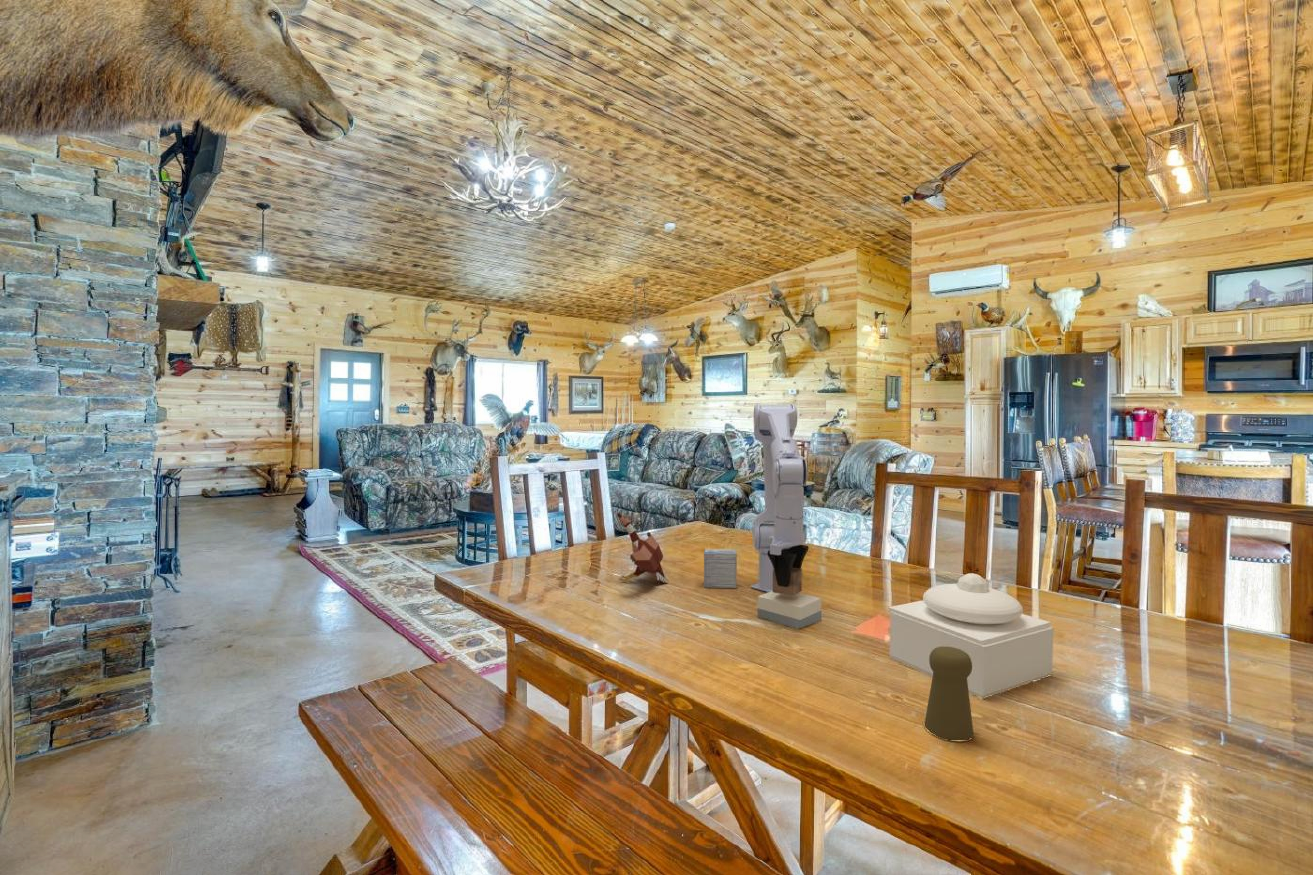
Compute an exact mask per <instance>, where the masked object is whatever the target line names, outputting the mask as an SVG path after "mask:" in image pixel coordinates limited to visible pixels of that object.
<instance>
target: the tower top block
mask: <svg viewBox="0 0 1313 875" xmlns="http://www.w3.org/2000/svg"><path fill="white" fill-rule="evenodd" d="M758 609H762V610H766V611H769V612H773V613H777V614H780V615H784V616H787V617H791V618H795V619H798V620H802V619H804V618H806V617H808V616H810V615H812V614H814V613H817V612H819V611H821V612H822V597H817V596H814V595H810V594H805V593H800V592H799V593H797V594H796V595H794V596H792V595H786V594H780V593H774V592H773V591H771V592H765V593H764V594H760V595H758V596H757V610H758Z"/></svg>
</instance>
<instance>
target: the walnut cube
mask: <svg viewBox="0 0 1313 875" xmlns="http://www.w3.org/2000/svg"><path fill="white" fill-rule="evenodd" d="M802 581H803V569H802V568H801V569H800V568H793V567H792V570H791V577H790V583H789V586H788V587H783V586H778V584H777V580H776V576H775V571H774V570H773V592H774V593H780V594H786V595H792V596H794V595H796V594H797V593H800V592H802V590H803V589H802V586H803V584H802Z"/></svg>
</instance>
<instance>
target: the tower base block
mask: <svg viewBox="0 0 1313 875" xmlns="http://www.w3.org/2000/svg"><path fill="white" fill-rule="evenodd" d="M757 617H758V618H761V619H764V620H767V621H770V622H773V623H776V624H781V625H783V626H786V627H789V628H792V629H795V630H799V629H802V628H804V627H807V626H810V625H811V624H815V623H818V622H819V621H822V610H821V611H819V612H817V613H814V614H812V615H810V616H808V617H806V618H804V619H802V620H798V619H795V618H791V617H787V616H784V615H780V614H777V613H773V612H769V611H766V610H762V609H758V608H757Z"/></svg>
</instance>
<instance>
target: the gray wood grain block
mask: <svg viewBox="0 0 1313 875" xmlns="http://www.w3.org/2000/svg"><path fill="white" fill-rule="evenodd" d="M703 550H704V551H703V588H706V589H708V588H710V589H713V588H715V589H737V587H738V586H737V585H738V582H737V580H738V578H737V577H738V576H737V573H738V572H737V571H738V570H737V569H738V568H737V567H738V564H737V563H738V562H737V560H738V559H737V558H738V553H737V552H738V551H737V549H733V548H732V549H731V548H705V549H703Z"/></svg>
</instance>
